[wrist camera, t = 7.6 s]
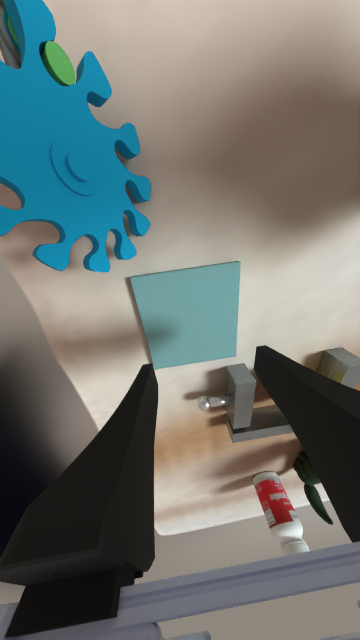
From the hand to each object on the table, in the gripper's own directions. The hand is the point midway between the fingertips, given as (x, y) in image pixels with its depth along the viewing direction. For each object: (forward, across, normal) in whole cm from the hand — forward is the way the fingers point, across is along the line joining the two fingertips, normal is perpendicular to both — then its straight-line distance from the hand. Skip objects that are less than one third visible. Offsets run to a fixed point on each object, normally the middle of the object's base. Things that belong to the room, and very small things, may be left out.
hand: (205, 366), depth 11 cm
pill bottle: (+7, -14, +46) cm, 49 cm away
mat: (+7, 0, 0) cm, 7 cm away
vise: (+7, -12, +12) cm, 18 cm away
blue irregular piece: (+8, +3, -12) cm, 15 cm away
